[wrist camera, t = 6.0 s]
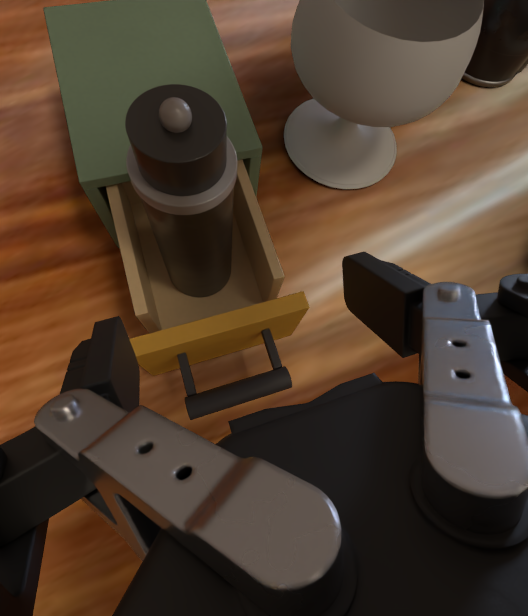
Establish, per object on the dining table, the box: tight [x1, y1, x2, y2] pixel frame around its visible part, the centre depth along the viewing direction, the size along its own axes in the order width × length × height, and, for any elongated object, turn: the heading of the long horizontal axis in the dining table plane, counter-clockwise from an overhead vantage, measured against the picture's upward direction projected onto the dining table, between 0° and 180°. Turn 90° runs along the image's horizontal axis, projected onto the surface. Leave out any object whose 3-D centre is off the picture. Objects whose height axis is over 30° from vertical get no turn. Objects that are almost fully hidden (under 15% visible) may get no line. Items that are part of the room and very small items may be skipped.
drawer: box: [106, 159, 309, 420], centre depth 28 cm, size 20×12×7 cm, turn 18°
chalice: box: [284, 0, 484, 189], centre depth 32 cm, size 14×14×15 cm
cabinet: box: [44, 0, 262, 248], centre depth 32 cm, size 17×13×9 cm
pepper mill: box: [125, 84, 237, 298], centre depth 23 cm, size 6×6×17 cm
